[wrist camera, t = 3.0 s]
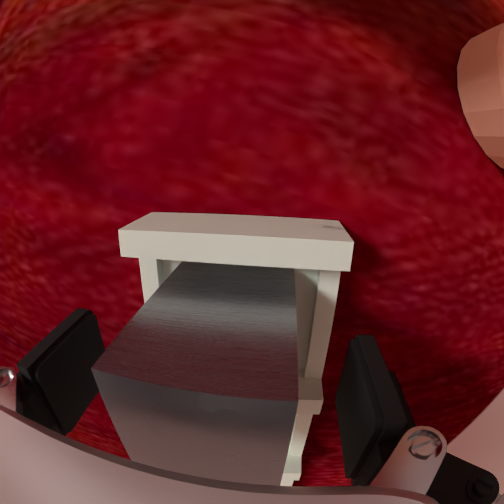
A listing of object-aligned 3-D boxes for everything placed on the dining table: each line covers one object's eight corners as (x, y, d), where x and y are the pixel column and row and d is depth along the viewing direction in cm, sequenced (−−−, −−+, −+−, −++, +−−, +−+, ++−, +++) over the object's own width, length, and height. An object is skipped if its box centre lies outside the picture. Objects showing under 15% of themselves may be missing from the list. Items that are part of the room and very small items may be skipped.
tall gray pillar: (294, 267, 12) (298, 401, 5) (285, 357, 13) (278, 492, 7) (183, 260, 12) (91, 368, 6) (190, 347, 14) (135, 467, 7)
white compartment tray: (338, 220, 12) (353, 242, 9) (287, 485, 19) (286, 514, 16) (152, 212, 13) (118, 229, 10) (194, 474, 20) (186, 501, 17)
